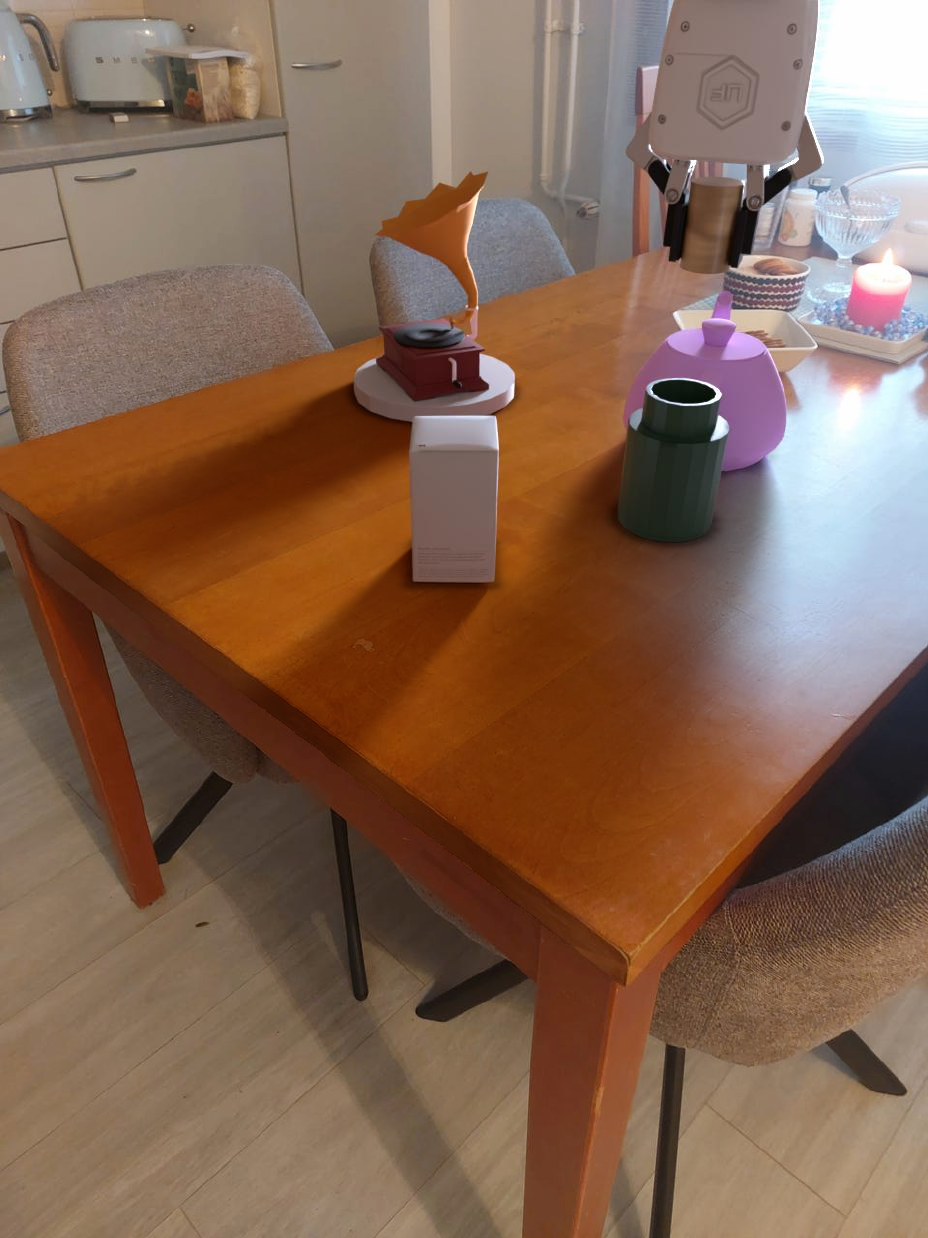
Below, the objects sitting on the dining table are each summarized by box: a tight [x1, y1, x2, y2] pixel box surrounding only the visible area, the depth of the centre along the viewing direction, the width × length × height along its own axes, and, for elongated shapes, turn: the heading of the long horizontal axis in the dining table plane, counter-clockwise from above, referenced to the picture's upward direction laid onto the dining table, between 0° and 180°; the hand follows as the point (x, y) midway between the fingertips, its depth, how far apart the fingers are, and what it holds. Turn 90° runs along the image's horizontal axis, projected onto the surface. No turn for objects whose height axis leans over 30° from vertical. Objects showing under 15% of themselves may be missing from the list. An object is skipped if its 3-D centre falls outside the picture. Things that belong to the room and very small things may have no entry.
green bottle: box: [617, 378, 730, 543], centre depth 83 cm, size 9×9×13 cm
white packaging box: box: [408, 415, 500, 584], centre depth 77 cm, size 7×7×13 cm
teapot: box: [622, 290, 788, 472], centre depth 98 cm, size 25×18×14 cm
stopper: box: [679, 176, 746, 275], centre depth 66 cm, size 4×4×6 cm
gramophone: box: [352, 170, 516, 423], centre depth 107 cm, size 20×20×25 cm
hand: (706, 257), depth 68 cm, fingers closed on stopper, 3 cm apart
